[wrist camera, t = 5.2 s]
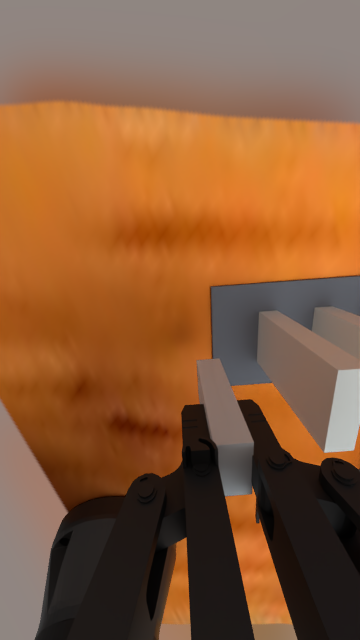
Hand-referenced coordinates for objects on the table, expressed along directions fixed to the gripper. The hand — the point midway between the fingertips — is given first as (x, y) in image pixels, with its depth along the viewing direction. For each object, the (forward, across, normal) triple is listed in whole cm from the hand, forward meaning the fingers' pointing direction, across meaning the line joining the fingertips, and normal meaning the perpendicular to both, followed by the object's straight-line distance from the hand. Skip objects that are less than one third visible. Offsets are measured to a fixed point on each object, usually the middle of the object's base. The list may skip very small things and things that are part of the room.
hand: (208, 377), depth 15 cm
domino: (+6, +6, 0) cm, 9 cm away
